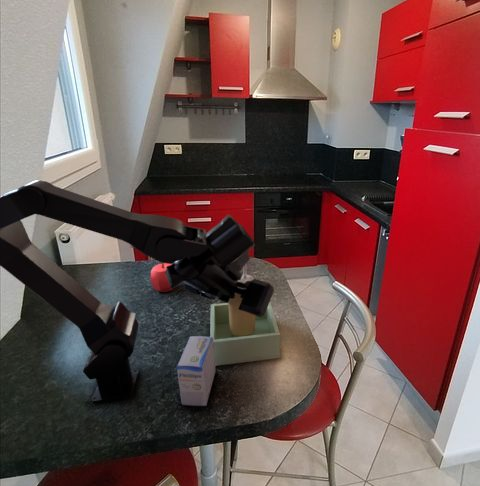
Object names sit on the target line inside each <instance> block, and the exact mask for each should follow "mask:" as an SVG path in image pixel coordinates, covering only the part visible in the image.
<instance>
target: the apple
mask: <svg viewBox="0 0 480 486" xmlns="http://www.w3.org/2000/svg"><path fill="white" fill-rule="evenodd" d="M172 264H173V263H170V264H167V263H162V262H161V263H158V264H156V265H155V266H153V267H152V269H151V270H150V283H151V285H152V288H153V290H155V291H159V292H161V293H166V292H167V293H168V292H170V291H172V290H175V288H177V287H178V286H176V287H175V288H173V289H172V288H171V287H170V285H169V282H168V280H167V277H166V275H165V271H166V267H167V266H170V265H172Z"/></svg>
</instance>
